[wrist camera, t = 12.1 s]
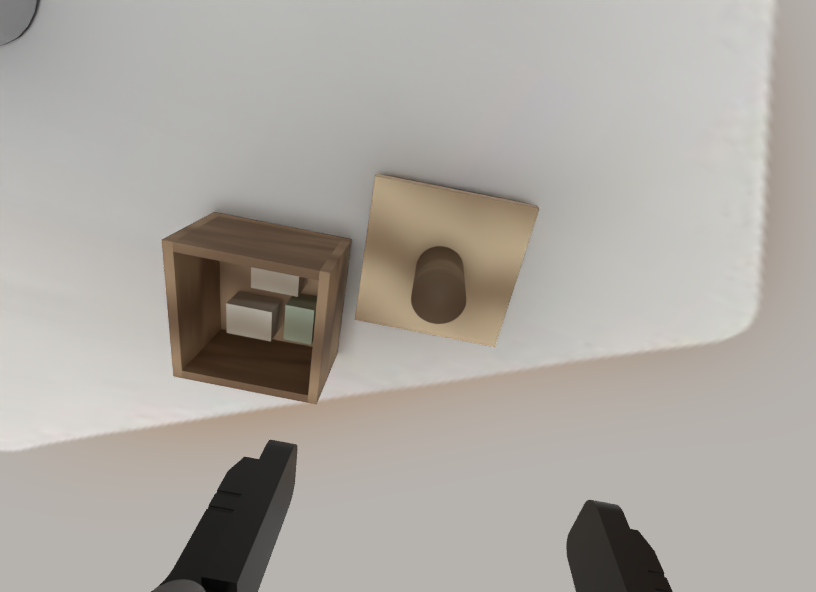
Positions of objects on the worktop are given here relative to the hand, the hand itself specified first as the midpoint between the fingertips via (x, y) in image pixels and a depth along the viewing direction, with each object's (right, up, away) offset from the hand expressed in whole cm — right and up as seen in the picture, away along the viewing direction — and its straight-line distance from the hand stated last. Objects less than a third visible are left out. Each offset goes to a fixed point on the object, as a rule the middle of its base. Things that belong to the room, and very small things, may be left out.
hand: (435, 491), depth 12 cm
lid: (+1, +7, +16) cm, 18 cm away
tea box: (-10, +6, +20) cm, 23 cm away
